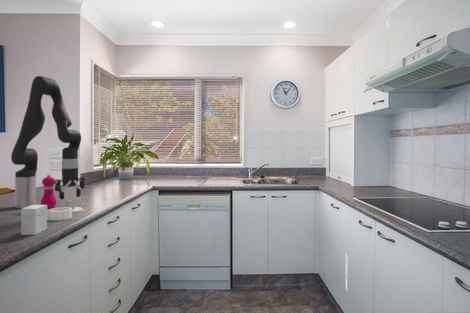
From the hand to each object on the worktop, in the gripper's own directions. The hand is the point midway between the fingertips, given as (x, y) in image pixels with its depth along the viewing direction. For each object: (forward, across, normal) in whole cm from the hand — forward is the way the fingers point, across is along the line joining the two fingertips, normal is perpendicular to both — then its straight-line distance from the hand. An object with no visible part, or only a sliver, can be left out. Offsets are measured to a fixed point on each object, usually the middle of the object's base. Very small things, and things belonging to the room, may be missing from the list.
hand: (70, 198), depth 145 cm
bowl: (+8, +11, +10) cm, 17 cm away
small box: (+8, +27, +20) cm, 34 cm away
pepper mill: (+8, +4, -12) cm, 15 cm away
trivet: (+8, 0, 0) cm, 8 cm away
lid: (+7, 0, 0) cm, 7 cm away
